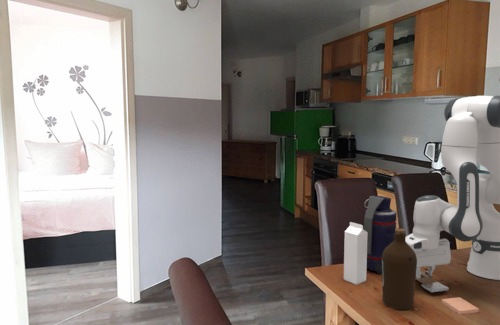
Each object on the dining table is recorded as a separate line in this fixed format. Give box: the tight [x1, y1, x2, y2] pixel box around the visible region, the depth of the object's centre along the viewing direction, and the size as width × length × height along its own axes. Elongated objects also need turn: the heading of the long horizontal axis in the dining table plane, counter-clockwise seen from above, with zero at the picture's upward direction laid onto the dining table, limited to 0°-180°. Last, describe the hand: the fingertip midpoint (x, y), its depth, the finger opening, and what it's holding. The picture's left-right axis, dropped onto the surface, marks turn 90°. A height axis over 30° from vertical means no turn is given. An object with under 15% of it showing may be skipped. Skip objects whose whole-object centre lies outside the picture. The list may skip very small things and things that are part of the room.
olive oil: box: [381, 227, 417, 311], centre depth 123 cm, size 11×11×25 cm
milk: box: [343, 221, 368, 286], centre depth 142 cm, size 6×6×22 cm
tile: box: [441, 296, 480, 315], centre depth 122 cm, size 7×2×8 cm
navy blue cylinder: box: [363, 195, 397, 275], centre depth 151 cm, size 14×12×30 cm
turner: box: [415, 270, 449, 293], centre depth 137 cm, size 7×15×3 cm, turn 15°
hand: (423, 277), depth 138 cm, fingers closed on turner, 2 cm apart
